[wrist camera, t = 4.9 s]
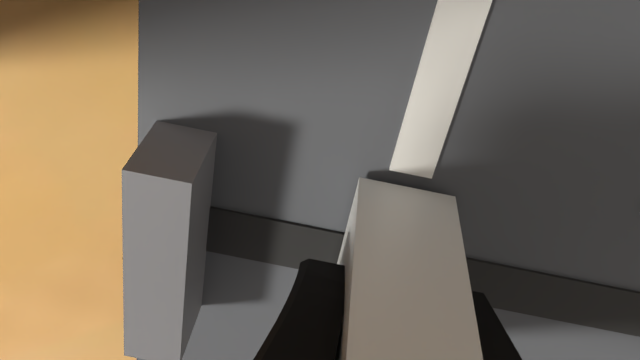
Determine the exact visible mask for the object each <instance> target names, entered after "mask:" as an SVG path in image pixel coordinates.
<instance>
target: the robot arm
mask: <svg viewBox="0 0 640 360" xmlns="http://www.w3.org/2000/svg"><path fill="white" fill-rule="evenodd" d="M472 297H473V303H474V309H475V314H476V320H477V326H478V332H479V338H480V344H481V350H482V356H483V360H522V358H521V356H520V354H519V353H518V351H517V349H516V348H515V346H514V344H513V342H512V341H511V339H510V337H509V336H508V334H507V332H506V330H505V329H504V327H503V325H502V323H501V322H500V320H499V318H498V316H497V315H496V313H495V311H494V309H493V308H492V306H491V304H490V303H489V301H488V299H487V298H486V296H485V294H484V293H481V292H476V291H472ZM344 299H345V265H340V264H335V263H330V262H325V261H320V260H314V259H309V258H308V259H306V260H304V261H302V262H300V266H299V270H298V273H297V276H296V279H295V282H294V285H293V287H292V289H291V292H290V294H289V296H288V298H287V301H286V303H285V305H284V306H283V308H282V310H281V312H280V314H279V316H278V318H277V320H276V322H275V324H274V325H273V327H272V329H271V331H270V332H269V334H268V336H267V337H266V339H265V341H264V342H263V344H262V346H261V347H260V349H259V351H258V353H257V354H256V356H255V358H254V359H253V360H335V357H336V352H337V347H338V341H339V336H340V331H341V326H342V321H343V315H344Z"/></svg>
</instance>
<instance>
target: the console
mask: <svg viewBox="0 0 640 360" xmlns="http://www.w3.org/2000/svg"><path fill="white" fill-rule="evenodd" d="M359 177H361V178H366V179H371V180H376V181H381V182H386V183H391V184H396V185H401V186H406V187H411V188H416V189H421V190H426V191H431V192H436V193H441V194H446V195H450V196H455V197H456V203H457V209H458V215H459V221H460V226H461V232H462V238H463V244H464V250H465V256H466V262H467V267H468V273H469V279H470V285H471V291H476V292H481V293H484V294H485V296H486V298H487V299H488V301H489V303H490V304H491V306H492V308H493V309H494V311H495V313H496V315H497V316H498V318H499V320H500V322H501V323H502V325H503V327H504V329H505V330H506V332H507V334H508V336H509V337H510V339H511V341H512V342H513V344H514V346H515V348H516V349H517V351H518V353H519V354H520V356H521V358H522V360H640V0H139V53H138V148H137V149H136V150H135V152H134V153H133V155H132V156H131V157H130V159H129V160H128V162H127V163H126V165H125V166H124V167H123V169H122V220H123V301H124V355H125V356H130V357H135V358H137V360H253V359H254V358H255V356H256V354H257V353H258V351H259V349H260V347H261V346H262V344H263V342H264V341H265V339H266V337H267V336H268V334H269V332H270V331H271V329H272V327H273V325H274V324H275V322H276V320H277V318H278V316H279V314H280V312H281V310H282V308H283V306H284V305H285V303H286V301H287V298H288V296H289V294H290V292H291V289H292V287H293V285H294V282H295V279H296V276H297V273H298V270H299V266H300V262H302V261H304V260H306V259H308V258H309V259H314V260H320V261H325V262H330V263H335V264H337V262H338V258H339V254H340V250H341V246H342V242H343V238H344V234H345V231H346V227H347V223H348V219H349V215H350V211H351V207H352V203H353V200H354V196H355V192H356V188H357V184H358V180H359Z"/></svg>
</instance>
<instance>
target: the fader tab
mask: <svg viewBox="0 0 640 360" xmlns="http://www.w3.org/2000/svg"><path fill="white" fill-rule="evenodd" d="M337 264H340V265H345V299H344V315H343V321H342V326H341V331H340V336H339V341H338V347H337V352H336V357H335V360H483V356H482V350H481V344H480V338H479V332H478V326H477V320H476V314H475V309H474V303H473V297H472V291H471V285H470V279H469V273H468V267H467V262H466V256H465V250H464V244H463V238H462V232H461V226H460V221H459V215H458V209H457V203H456V197H455V196H450V195H446V194H441V193H436V192H431V191H426V190H421V189H416V188H411V187H406V186H401V185H396V184H391V183H386V182H381V181H376V180H371V179H366V178H361V177H359V180H358V184H357V188H356V192H355V196H354V200H353V203H352V207H351V211H350V215H349V219H348V223H347V227H346V231H345V234H344V238H343V242H342V246H341V250H340V254H339V258H338V262H337Z"/></svg>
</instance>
